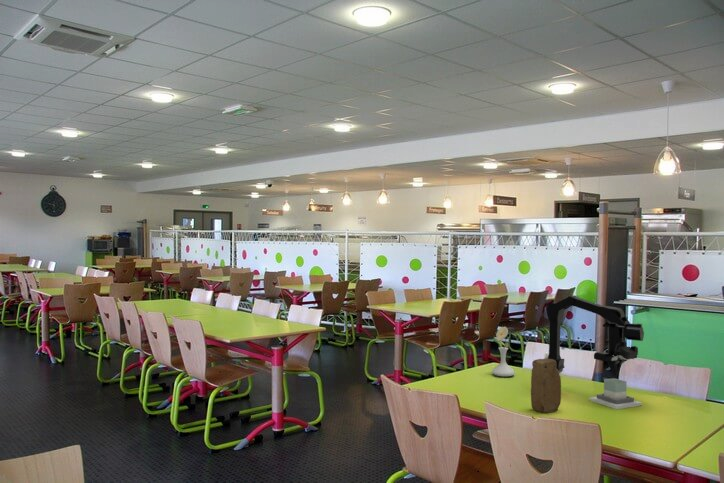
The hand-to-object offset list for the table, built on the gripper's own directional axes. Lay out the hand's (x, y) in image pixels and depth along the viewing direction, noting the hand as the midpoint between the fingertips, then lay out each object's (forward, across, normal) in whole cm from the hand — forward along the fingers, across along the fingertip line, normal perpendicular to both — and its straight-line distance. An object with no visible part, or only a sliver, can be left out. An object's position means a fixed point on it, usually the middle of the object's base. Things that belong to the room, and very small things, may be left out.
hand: (615, 376), depth 230 cm
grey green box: (+10, 0, 0) cm, 10 cm away
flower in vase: (+11, -12, +57) cm, 60 cm away
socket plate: (+11, 0, 0) cm, 11 cm away
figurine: (+11, +10, +47) cm, 49 cm away
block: (+11, -34, +3) cm, 36 cm away
